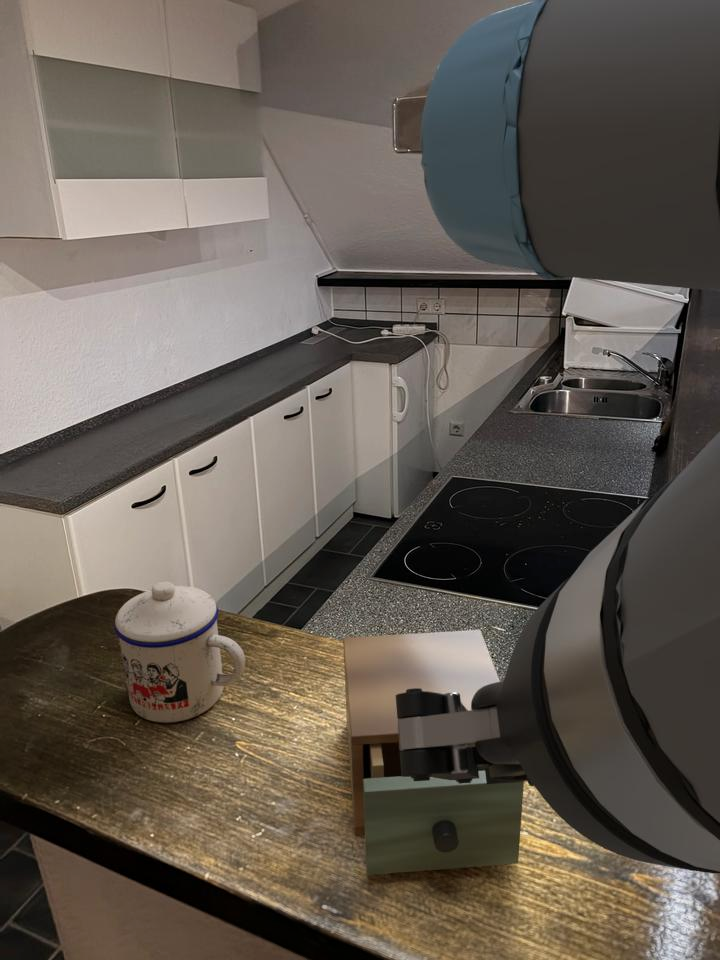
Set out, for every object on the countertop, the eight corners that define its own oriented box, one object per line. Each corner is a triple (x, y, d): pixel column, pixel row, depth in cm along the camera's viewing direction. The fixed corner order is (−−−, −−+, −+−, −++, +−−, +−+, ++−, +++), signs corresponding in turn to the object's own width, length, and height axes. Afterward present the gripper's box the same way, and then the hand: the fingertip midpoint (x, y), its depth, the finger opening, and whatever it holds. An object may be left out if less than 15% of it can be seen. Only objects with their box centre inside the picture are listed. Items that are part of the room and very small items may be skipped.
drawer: (523, 879, 51) (529, 794, 48) (368, 890, 50) (365, 806, 48) (483, 751, 62) (487, 676, 60) (356, 759, 62) (354, 685, 59)
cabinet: (511, 824, 56) (517, 725, 53) (354, 836, 56) (350, 736, 52) (477, 716, 68) (480, 629, 64) (346, 725, 67) (343, 637, 64)
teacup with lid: (106, 714, 69) (86, 603, 65) (164, 657, 77) (149, 555, 73) (223, 743, 65) (209, 627, 61) (270, 681, 73) (261, 574, 69)
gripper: (431, 898, 15) (374, 845, 37) (1051, 854, 16) (638, 827, 38) (401, 542, 18) (365, 686, 40) (924, 517, 19) (609, 672, 41)
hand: (497, 754), depth 39 cm, fingers closed
